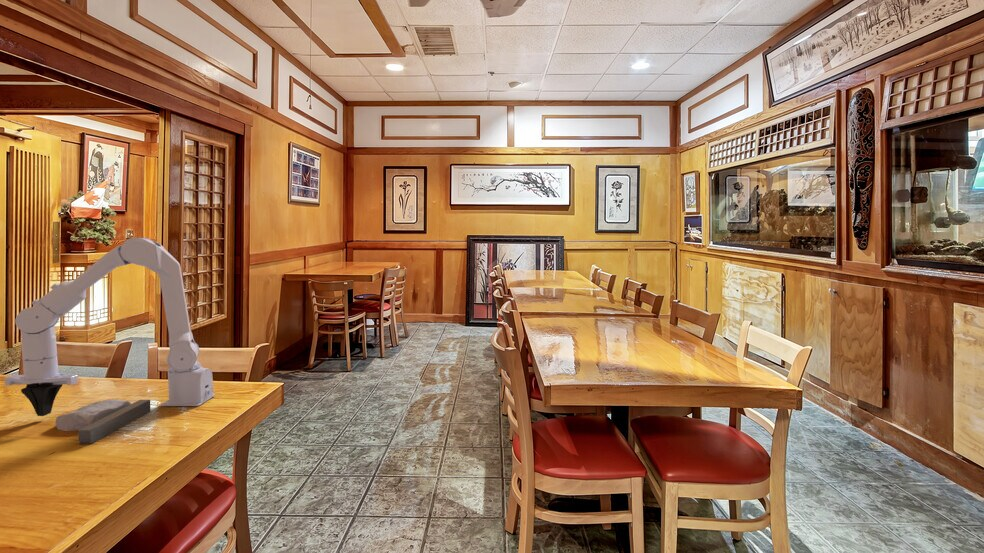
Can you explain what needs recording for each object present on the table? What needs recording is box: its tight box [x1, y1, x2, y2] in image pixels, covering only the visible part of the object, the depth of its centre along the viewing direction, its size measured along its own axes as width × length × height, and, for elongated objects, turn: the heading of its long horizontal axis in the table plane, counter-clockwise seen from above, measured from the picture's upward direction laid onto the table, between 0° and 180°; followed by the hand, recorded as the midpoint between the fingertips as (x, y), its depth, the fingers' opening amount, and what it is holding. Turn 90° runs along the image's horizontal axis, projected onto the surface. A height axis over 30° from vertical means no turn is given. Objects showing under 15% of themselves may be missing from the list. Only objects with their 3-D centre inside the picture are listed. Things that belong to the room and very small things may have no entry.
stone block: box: [55, 398, 132, 432], centre depth 107 cm, size 12×5×10 cm
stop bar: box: [77, 399, 152, 445], centre depth 104 cm, size 2×18×3 cm, turn 3°
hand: (44, 414), depth 106 cm, fingers closed
